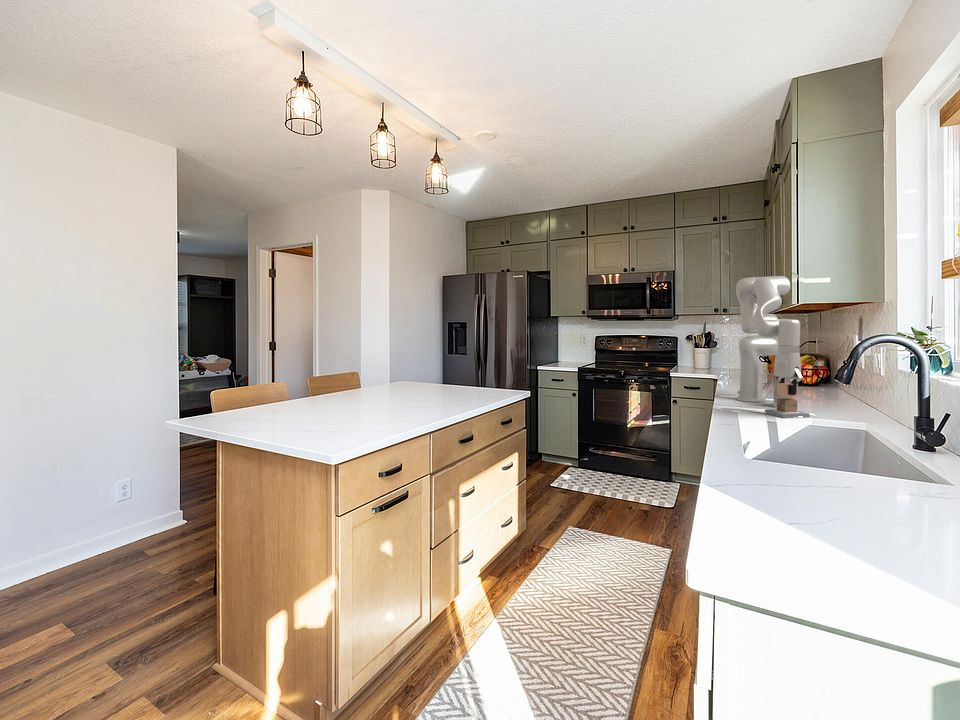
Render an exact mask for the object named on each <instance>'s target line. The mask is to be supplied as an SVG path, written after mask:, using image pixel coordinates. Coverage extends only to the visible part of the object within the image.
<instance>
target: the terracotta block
mask: <svg viewBox="0 0 960 720" xmlns="http://www.w3.org/2000/svg"><path fill="white" fill-rule="evenodd" d="M788 385H790V384H789V383H777V395H779V396H784V397H796V398H798V393H797V394H796V395H788ZM798 385H799V384H798ZM798 385H797V392H798V390H799V389H798V388H799V387H798Z"/></svg>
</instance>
